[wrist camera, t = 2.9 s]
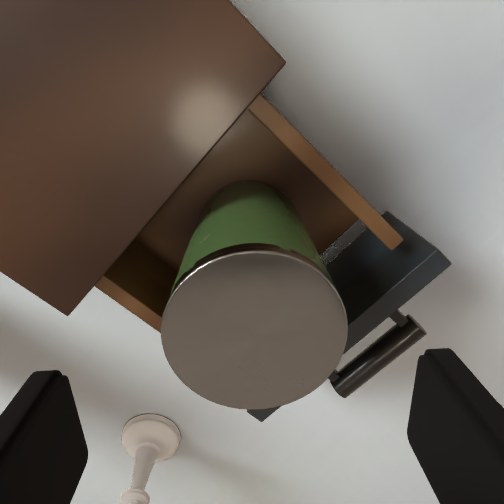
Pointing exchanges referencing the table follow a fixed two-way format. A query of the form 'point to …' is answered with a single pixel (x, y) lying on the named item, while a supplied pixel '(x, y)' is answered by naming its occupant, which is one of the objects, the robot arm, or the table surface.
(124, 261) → the drawer
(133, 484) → the chess piece
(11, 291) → the table surface
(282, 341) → the tin can
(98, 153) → the cabinet
